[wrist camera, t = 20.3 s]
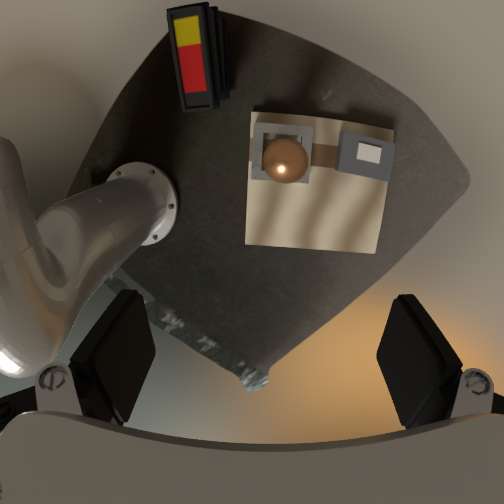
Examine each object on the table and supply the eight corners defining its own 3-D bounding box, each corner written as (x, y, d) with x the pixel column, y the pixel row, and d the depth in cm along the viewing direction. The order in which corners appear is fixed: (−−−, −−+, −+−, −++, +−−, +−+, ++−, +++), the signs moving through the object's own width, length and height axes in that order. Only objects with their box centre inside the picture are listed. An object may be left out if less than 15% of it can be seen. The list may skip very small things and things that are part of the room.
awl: (264, 165, 35) (261, 182, 23) (266, 136, 34) (263, 137, 22) (294, 167, 35) (306, 185, 23) (296, 138, 33) (310, 141, 22)
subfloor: (245, 241, 41) (245, 244, 40) (252, 112, 33) (251, 111, 32) (372, 251, 40) (374, 253, 39) (390, 130, 33) (393, 130, 32)
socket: (252, 176, 36) (250, 179, 34) (254, 123, 33) (253, 122, 31) (306, 180, 36) (308, 183, 33) (310, 127, 33) (313, 127, 30)
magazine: (226, 4, 26) (204, 1, 16) (234, 88, 36) (219, 128, 26) (198, 8, 26) (161, 9, 16) (208, 90, 36) (183, 131, 26)
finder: (332, 168, 35) (338, 171, 32) (338, 131, 33) (344, 131, 30) (381, 178, 34) (390, 182, 31) (387, 142, 32) (396, 144, 29)
